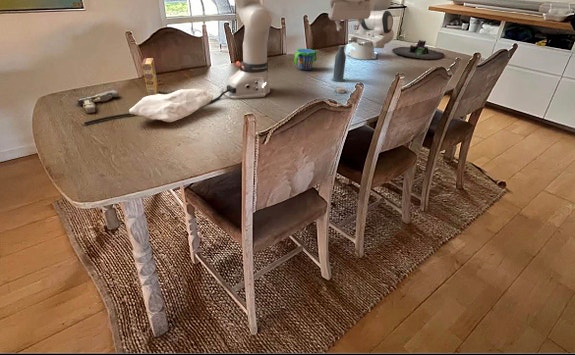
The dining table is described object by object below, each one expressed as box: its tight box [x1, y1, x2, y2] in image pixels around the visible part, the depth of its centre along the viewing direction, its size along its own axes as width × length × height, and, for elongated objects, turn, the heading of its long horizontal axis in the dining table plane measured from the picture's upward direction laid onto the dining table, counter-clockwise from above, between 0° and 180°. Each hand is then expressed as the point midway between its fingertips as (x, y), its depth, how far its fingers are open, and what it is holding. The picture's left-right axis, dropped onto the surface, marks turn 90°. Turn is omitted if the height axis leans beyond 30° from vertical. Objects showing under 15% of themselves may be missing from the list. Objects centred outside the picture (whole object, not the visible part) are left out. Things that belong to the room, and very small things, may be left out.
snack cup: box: [293, 48, 318, 71], centre depth 208 cm, size 16×10×10 cm
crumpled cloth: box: [128, 88, 214, 123], centre depth 147 cm, size 24×35×9 cm
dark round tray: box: [391, 39, 445, 60], centre depth 250 cm, size 35×35×9 cm
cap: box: [336, 86, 346, 94], centre depth 180 cm, size 4×4×2 cm
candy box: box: [141, 57, 160, 96], centre depth 163 cm, size 9×4×15 cm, turn 13°
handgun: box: [76, 89, 120, 114], centre depth 155 cm, size 3×18×15 cm
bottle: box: [332, 44, 347, 83], centre depth 191 cm, size 6×6×18 cm
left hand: (347, 30), depth 165 cm, fingers open, 8 cm apart
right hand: (356, 42), depth 193 cm, fingers open, 8 cm apart
